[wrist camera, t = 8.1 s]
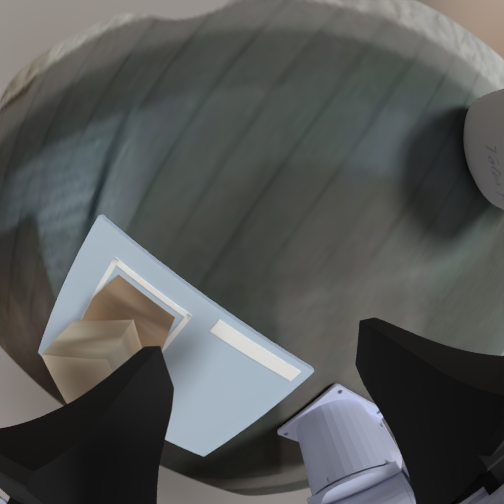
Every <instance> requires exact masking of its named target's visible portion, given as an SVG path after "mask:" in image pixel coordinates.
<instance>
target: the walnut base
mask: <svg viewBox="0 0 504 504" xmlns="http://www.w3.org/2000/svg"><path fill="white" fill-rule="evenodd" d="M174 319H175V317H174V316H173V315H171V314H170V313H168V312H167V311H166V310H164V309H163V308H162V307H160V306H159V305H158V304H156V303H155V302H153V301H152V300H151V299H149V298H148V297H147V296H146V295H144V294H143V293H142V292H140V291H139V290H138V289H136V288H135V287H134V286H133V285H131V284H130V283H129V282H128V281H126V280H125V279H124V278H123V277H121V276H120V275H117V276H116V277H115V278H114V279H113V280H112V281H111V282H109V283H108V284H107V285H106V286H105V287H104V288H103V289H102V290H100V291H99V292H98V293H97V294H96V295H95V296H94V297H93V299H92V301H91V303H90V305H89V306H88V308H87V310H86V312H85V314H84V316H83V318H82V320H81V321H106V320H134V323H135V327H136V330H137V333H138V337H139V340H140V343H141V346H142V348H143V347H145V346H160V347H161V350H162V349H163V347H164V344H165V341H166V339H167V336H168V334H169V331H170V329H171V326H172V324H173V321H174Z"/></svg>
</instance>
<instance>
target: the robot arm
mask: <svg viewBox="0 0 504 504" xmlns="http://www.w3.org/2000/svg"><path fill="white" fill-rule="evenodd" d="M356 367H357V369H358V372H359V374H360V377H361V379H362V381H363V384H364V386H365V387H366V389H367V391H368V392H369V394H370V396H371V397H372V399H373V401H374V402H375V404H374V403H372V402H370V401H368V400H366V399H364V398H363V397H361V396H359V395H357V394H355V393H354V392H352V391H350V390H348V389H347V388H345V387H343V386H341V385H340V384H334V385H332V386H331V387H330V388H329V389H328V390H327V391H325V392H324V393H323V394H322V395H321V396H320V397H318V398H317V399H316V400H315V401H314V402H312V403H311V404H310V405H309V406H307V407H306V408H305V409H304V410H302V411H301V412H300V413H299V414H297V415H296V416H295V417H294V418H292V419H291V420H290V421H288V422H287V423H286V424H284V425H283V426H282V427H280V428H279V429H278V430H277V433H278V434H279V435H281V436H283V437H286V438H289V439H291V440H294V441H297V442H299V444H300V448H301V452H302V456H303V461H304V465H305V469H306V473H307V477H308V481H309V485H310V489H311V492H312V497H309V498H307V501H308V504H504V356H495V355H487V354H479V353H474V352H469V351H464V350H460V349H456V348H452V347H449V346H446V345H443V344H440V343H437V342H434V341H431V340H429V339H426V338H423V337H421V336H418V335H416V334H414V333H411V332H409V331H406V330H404V329H402V328H400V327H397V326H395V325H393V324H390V323H388V322H385V321H383V320H380V319H377V318H370V319H365V320H361V321H360V323H359V336H358V346H357V356H356ZM339 390H340V391H339ZM173 395H174V386H173V383H172V380H171V377H170V375H169V372H168V369H167V366H166V363H165V359H164V356H163V353H162V350H161V347H160V346H145V347H143V348H142V349H140V350H139V351H138V352H137V353H135V354H134V355H133V356H132V357H131V358H129V359H128V360H127V361H126V362H125V363H123V364H122V365H121V366H120V367H119V368H117V369H116V370H115V371H114V372H113V373H111V374H110V375H109V376H108V377H106V378H105V379H104V380H102V381H101V382H100V383H98V384H97V385H96V386H94V387H93V388H92V389H90V390H89V391H88V392H86V393H85V394H83V395H82V396H80V397H79V398H77V399H75V400H74V401H72V402H70V403H68V404H67V405H65V406H63V407H61V408H59V409H57V410H55V411H53V412H50V413H48V414H46V415H44V416H42V417H40V418H36V419H34V420H31V421H28V422H25V423H22V424H18V425H14V426H11V427H5V428H0V488H1V489H2V490H3V491H4V492H5V493H6V494H7V495H9V496H10V498H9V501H8V502H7V501H6V500H5V499H3V498H2V497H0V504H157V503H156V502H157V482H158V470H159V463H160V458H161V453H162V449H163V445H164V441H165V437H166V433H167V429H168V425H169V421H170V417H171V412H172V405H173ZM383 417H384V419H385V420H386V422H387V424H388V425H389V427H390V429H391V431H392V433H393V435H394V437H395V440H396V442H397V444H398V447H399V449H400V452H401V454H402V457H403V460H404V462H405V465H406V466H404V467H403V468H401V465H402V457H401V454H400V452H399V450H398V448H397V446H396V445H395V443H394V441H393V439H392V437H391V436H390V434H389V432H388V430H387V429H386V427H385V425H384V423H383V422H382V420H381V419H382V418H383Z"/></svg>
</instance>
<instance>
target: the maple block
mask: <svg viewBox="0 0 504 504" xmlns="http://www.w3.org/2000/svg"><path fill="white" fill-rule="evenodd" d="M140 349H142V346H141V343H140V340H139V337H138V333H137V330H136V327H135V323H134V320H106V321H73V322H72V323H71V324H70V325H69V326H68V327H67V328H66V329H65V330H64V331H63V332H62V333H61V334H60V335H59V336H58V337H57V338H56V339H55V340H54V341H53V342H52V343H51V344H50V346H49V347H48V348H47V349H46V350H45V351H44V352H43V353H42V354H41V355H42V357H43V360H44V362H45V364H46V366H47V368H48V370H49V372H50V374H51V376H52V378H53V380H54V382H55V384H56V385H57V387H58V389H59V391H60V393H61V394H62V396H63V398H64V400H65V401H66V403H67V404H68V403H70V402H72V401H74V400H75V399H77V398H79V397H80V396H82V395H83V394H85V393H86V392H88V391H89V390H90V389H92V388H93V387H94V386H96V385H97V384H98V383H100V382H101V381H102V380H104V379H105V378H106V377H108V376H109V375H110V374H111V373H113V372H114V371H115V370H116V369H117V368H119V367H120V366H121V365H122V364H123V363H125V362H126V361H127V360H128V359H129V358H131V357H132V356H133V355H134V354H135V353H137V352H138V351H139V350H140Z"/></svg>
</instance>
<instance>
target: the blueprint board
mask: <svg viewBox="0 0 504 504" xmlns="http://www.w3.org/2000/svg"><path fill="white" fill-rule="evenodd" d="M117 275H120V276H121V277H123V278H124V279H125V280H126V281H128V282H129V283H130V284H131V285H133V286H134V287H135V288H136V289H138V290H139V291H140V292H142V293H143V294H144V295H146V296H147V297H148V298H149V299H151V300H152V301H153V302H155V303H156V304H158V305H159V306H160V307H162V308H163V309H164V310H166V311H167V312H168V313H170V314H171V315H173V316H174V317H175V319H174V321H173V324H172V326H171V329H170V331H169V334H168V336H167V339H166V341H165V344H164V347H163V349H162V353H163V356H164V359H165V363H166V366H167V369H168V372H169V375H170V377H171V380H172V383H173V386H174V395H173V405H172V412H171V417H170V421H169V425H168V429H167V433H166V437H165V440H167V441H169V442H171V443H174V444H176V445H178V446H180V447H182V448H184V449H187V450H189V451H191V452H194V453H196V454H198V455H201V456H203V457H204V456H206V455H207V454H209V453H210V452H212V451H213V450H215V449H216V448H218V447H219V446H221V445H222V444H224V443H225V442H227V441H228V440H230V439H231V438H233V437H234V436H235V435H237V434H238V433H240V432H241V431H242V430H244V429H245V428H246V427H248V426H249V425H251V424H252V423H253V422H255V421H256V420H257V419H258V418H260V417H261V416H262V415H264V414H265V413H266V412H267V411H269V410H270V409H271V408H272V407H274V406H275V405H276V404H277V403H279V402H280V401H281V400H282V399H284V398H285V397H286V396H287V395H288V394H289V393H291V392H292V391H293V390H294V389H295V388H296V387H298V386H299V385H300V384H301V383H302V382H303V381H304V380H305V379H307V378H308V377H309V376H310V375H311V374H312V373H313V372H314V369H313V367H311V366H310V365H308V364H307V363H305V362H303V361H302V360H300V359H299V358H297V357H295V356H294V355H292V354H291V353H289V352H287V351H286V350H284V349H283V348H281V347H280V346H278V345H277V344H275V343H274V342H272V341H270V340H269V339H267V338H266V337H264V336H263V335H261V334H260V333H258V332H257V331H255V330H254V329H252V328H251V327H249V326H248V325H247V324H245V323H244V322H242V321H241V320H239V319H238V318H236V317H235V316H233V315H232V314H231V313H229V312H228V311H226V310H225V309H223V308H222V307H221V306H219V305H218V304H216V303H215V302H214V301H212V300H211V299H209V298H208V297H207V296H205V295H204V294H203V293H201V292H200V291H198V290H197V289H196V288H194V287H193V286H192V285H190V284H189V283H188V282H186V281H185V280H184V279H182V278H181V277H180V276H178V275H177V274H176V273H174V272H173V271H172V270H170V269H169V268H168V267H167V266H165V265H164V264H163V263H161V262H160V261H159V260H158V259H156V258H155V257H154V256H152V255H151V254H150V253H149V252H147V251H146V250H145V249H144V248H142V247H141V246H140V245H139V244H137V243H136V242H135V241H134V240H133V239H131V238H130V237H129V236H128V235H126V234H125V233H124V232H123V231H122V230H120V229H119V228H118V227H117V226H116V225H114V224H113V223H112V222H111V221H110V220H109V219H107V218H106V217H105V216H104V215H103V214H102V215H99V216H98V218H97V220H96V221H95V223H94V225H93V227H92V228H91V230H90V232H89V234H88V236H87V238H86V239H85V241H84V243H83V245H82V247H81V249H80V251H79V253H78V255H77V257H76V259H75V261H74V263H73V265H72V267H71V269H70V271H69V273H68V276H67V278H66V280H65V282H64V284H63V287H62V289H61V291H60V294H59V296H58V298H57V301H56V303H55V306H54V308H53V311H52V313H51V316H50V319H49V321H48V324H47V327H46V330H45V333H44V335H43V338H42V341H41V344H40V348H39V351H38V353H39V354H40V355H41V354H42V353H43V352H44V351H45V350H46V349H47V348H48V347H49V346H50V344H51V343H52V342H53V341H54V340H55V339H56V338H57V337H58V336H59V335H60V334H61V333H62V332H63V331H64V330H65V329H66V328H67V327H68V326H69V325H70V324H71V323H72V322H73V321H81V320H82V318H83V316H84V314H85V312H86V310H87V308H88V306H89V305H90V303H91V301H92V299H93V297H94V296H95V295H96V294H97V293H98V292H99V291H100V290H102V289H103V288H104V287H105V286H106V285H107V284H108V283H109V282H111V281H112V280H113V279H114V278H115V277H116V276H117ZM41 356H42V355H41Z"/></svg>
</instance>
